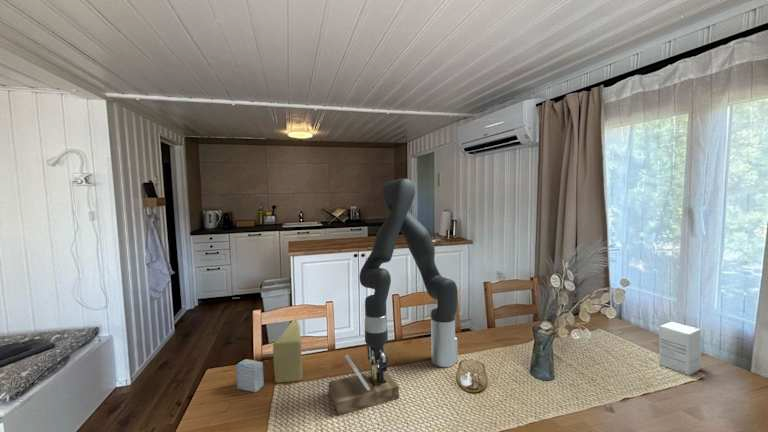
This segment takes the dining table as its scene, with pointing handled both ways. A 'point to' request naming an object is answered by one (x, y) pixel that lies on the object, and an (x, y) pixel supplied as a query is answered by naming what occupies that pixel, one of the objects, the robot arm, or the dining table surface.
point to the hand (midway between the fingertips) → (377, 378)
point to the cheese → (288, 355)
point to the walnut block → (361, 392)
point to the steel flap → (357, 372)
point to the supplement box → (680, 347)
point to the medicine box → (249, 375)
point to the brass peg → (374, 375)
